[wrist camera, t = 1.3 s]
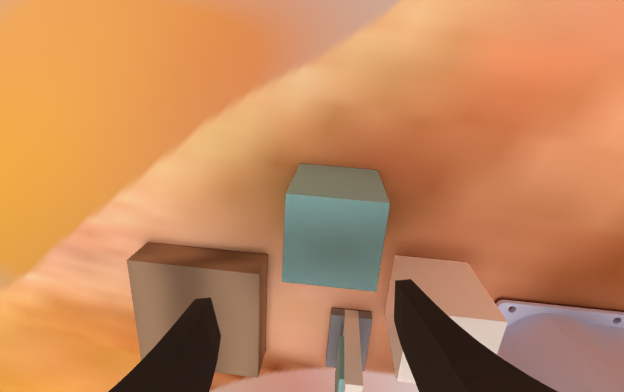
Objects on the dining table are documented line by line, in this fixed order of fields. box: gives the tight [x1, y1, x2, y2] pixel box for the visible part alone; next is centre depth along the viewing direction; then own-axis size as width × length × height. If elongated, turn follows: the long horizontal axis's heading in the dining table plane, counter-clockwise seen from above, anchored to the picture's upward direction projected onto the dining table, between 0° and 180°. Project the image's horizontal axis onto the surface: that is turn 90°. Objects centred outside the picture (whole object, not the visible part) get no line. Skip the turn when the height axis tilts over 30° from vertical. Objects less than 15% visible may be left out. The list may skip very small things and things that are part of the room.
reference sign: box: [326, 308, 372, 392], centre depth 23 cm, size 3×5×6 cm, turn 176°
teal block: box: [282, 163, 390, 292], centre depth 20 cm, size 5×5×6 cm
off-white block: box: [385, 255, 508, 383], centre depth 21 cm, size 5×5×6 cm
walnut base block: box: [127, 242, 268, 377], centre depth 25 cm, size 9×9×3 cm
